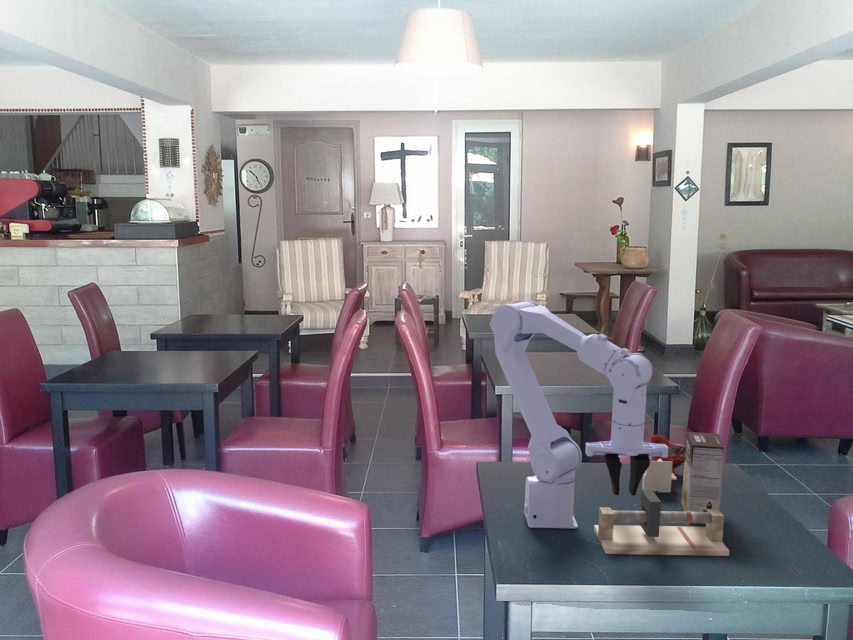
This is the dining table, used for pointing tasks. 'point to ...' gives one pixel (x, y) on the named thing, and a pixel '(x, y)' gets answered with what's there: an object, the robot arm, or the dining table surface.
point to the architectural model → (658, 476)
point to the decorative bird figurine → (670, 451)
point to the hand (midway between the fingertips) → (624, 493)
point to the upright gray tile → (651, 513)
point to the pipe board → (662, 533)
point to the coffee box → (702, 472)
